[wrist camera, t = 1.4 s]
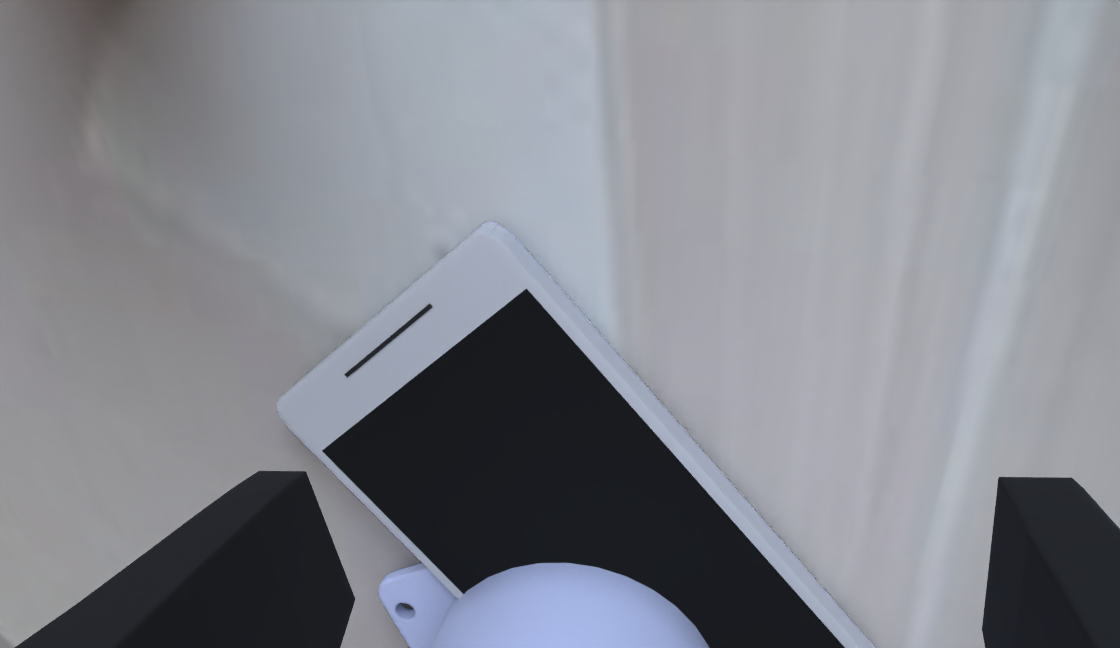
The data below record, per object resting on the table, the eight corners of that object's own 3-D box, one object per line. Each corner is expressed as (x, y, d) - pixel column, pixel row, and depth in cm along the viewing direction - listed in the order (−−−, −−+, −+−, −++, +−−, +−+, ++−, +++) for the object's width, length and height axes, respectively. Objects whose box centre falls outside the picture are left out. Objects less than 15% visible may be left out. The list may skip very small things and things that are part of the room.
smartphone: (685, 802, 24) (684, 833, 23) (284, 392, 21) (265, 410, 21) (919, 695, 22) (927, 726, 21) (495, 212, 19) (484, 224, 18)
